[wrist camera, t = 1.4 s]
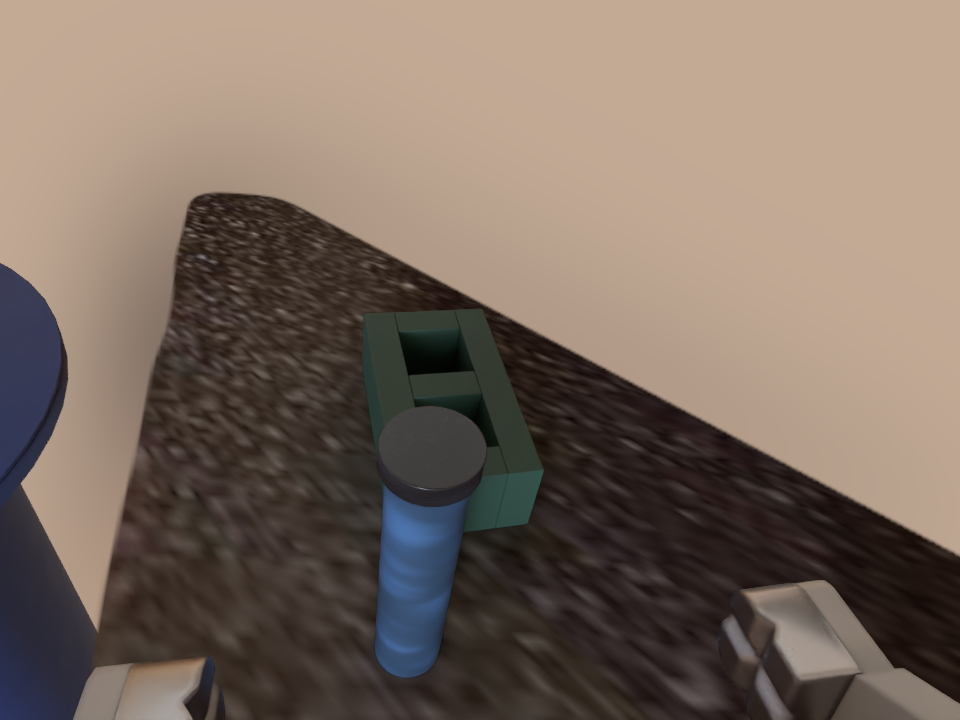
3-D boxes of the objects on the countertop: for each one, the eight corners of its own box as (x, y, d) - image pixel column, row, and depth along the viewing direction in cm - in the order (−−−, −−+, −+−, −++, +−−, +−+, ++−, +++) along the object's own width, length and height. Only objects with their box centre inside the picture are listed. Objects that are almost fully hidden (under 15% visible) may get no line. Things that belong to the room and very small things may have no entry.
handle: (373, 691, 31) (385, 496, 21) (364, 615, 34) (371, 409, 24) (452, 676, 32) (499, 483, 22) (437, 603, 35) (473, 401, 25)
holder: (389, 542, 37) (394, 487, 34) (362, 369, 47) (363, 313, 44) (527, 524, 39) (544, 470, 36) (473, 362, 49) (482, 308, 46)
